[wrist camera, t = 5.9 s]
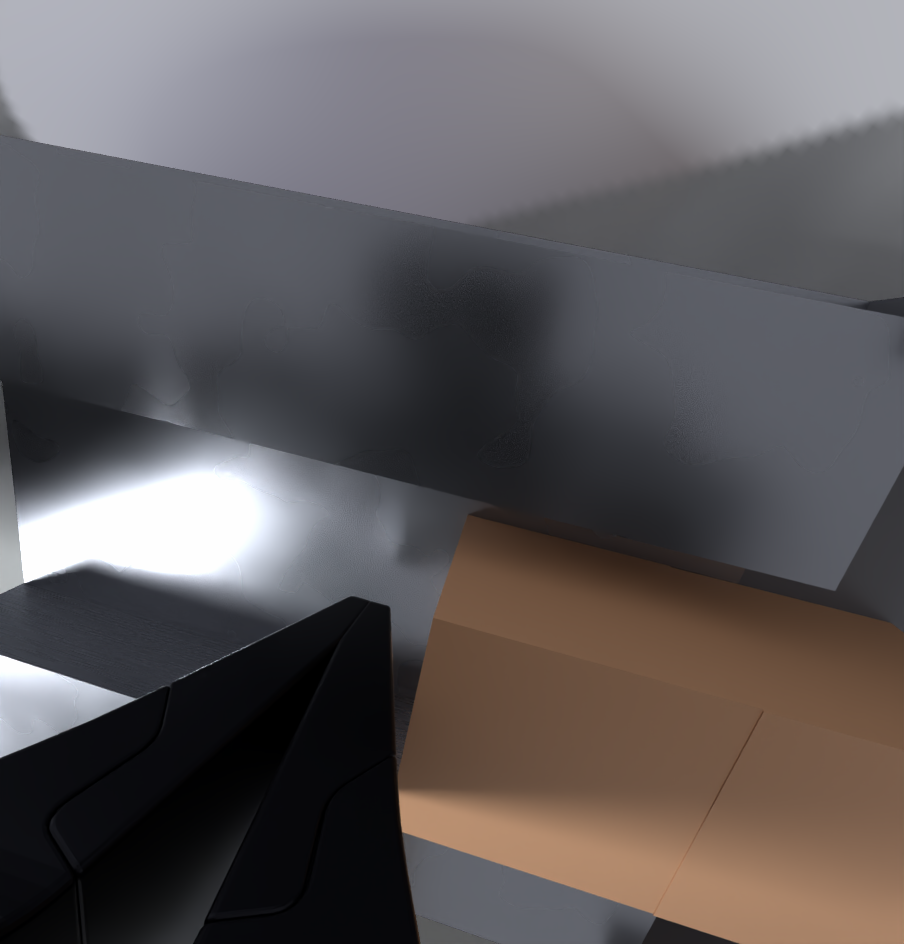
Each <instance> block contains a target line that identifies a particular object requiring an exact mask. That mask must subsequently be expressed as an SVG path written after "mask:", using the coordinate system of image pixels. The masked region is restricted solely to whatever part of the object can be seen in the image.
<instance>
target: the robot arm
mask: <svg viewBox="0 0 904 944" xmlns="http://www.w3.org/2000/svg"><path fill="white" fill-rule="evenodd" d="M0 944H420V938H419V932H418V927H417V921H416V915H415V909H414V904H413V898H412V892H411V886H410V881H409V875H408V869H407V862H406V855H405V848H404V841H403V834H402V826H401V817H400V804H399V791H398V774H397V759H396V729H395V704H394V679H393V654H392V628H391V609H390V607H389V606H388V605H384V604H380V603H377V602H373V601H369V600H366V599H362V598H359V597H355V596H349V597H347V598H345V599H343V600H341V601H339V602H337V603H335V604H333V605H330V606H328V607H326V608H324V609H322V610H320V611H318V612H316V613H314V614H312V615H310V616H308V617H306V618H304V619H302V620H300V621H297V622H295V623H293V624H291V625H289V626H287V627H285V628H283V629H281V630H279V631H277V632H275V633H273V634H271V635H269V636H266V637H264V638H262V639H260V640H258V641H256V642H254V643H252V644H250V645H248V646H246V647H244V648H242V649H240V650H238V651H236V652H233V653H231V654H229V655H227V656H225V657H223V658H221V659H219V660H217V661H215V662H213V663H211V664H209V665H207V666H205V667H202V668H200V669H198V670H196V671H194V672H192V673H190V674H188V675H186V676H184V677H182V678H180V679H178V680H176V681H174V682H172V683H171V685H170V687H169V686H168V685H165V686H163V687H161V688H159V689H157V690H155V691H153V692H150V693H148V694H146V695H144V696H142V697H140V698H138V699H136V700H134V701H132V702H129V703H127V704H125V705H123V706H121V707H119V708H116V709H114V710H112V711H110V712H108V713H106V714H103V715H101V716H99V717H97V718H95V719H92V720H90V721H88V722H85V723H83V724H81V725H78V726H76V727H73V728H71V729H69V730H66V731H64V732H62V733H59V734H57V735H54V736H52V737H50V738H47V739H45V740H43V741H40V742H38V743H35V744H33V745H30V746H28V747H25V748H23V749H21V750H18V751H16V752H13V753H11V754H8V755H6V756H3V757H1V758H0Z"/></svg>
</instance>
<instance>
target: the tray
mask: <svg viewBox="0 0 904 944" xmlns="http://www.w3.org/2000/svg"><path fill="white" fill-rule="evenodd" d="M866 310H869V311H874V312H879V313H884V314H890V315H895V316H900V317H904V297H903V298H895V299H887V300H879V301H871V302H870V303H869V305H868V307H867V309H866ZM738 584H739V585H743V586H747V587H751V588H755V589H759V590H763V591H767V592H771V593H775V594H779V595H783V596H787V597H791V598H795V599H799V600H802V601H806V602H810V603H814V604H818V605H822V606H826V607H830V608H834V609H838V610H842V611H846V612H850V613H854V614H858V615H862V616H865V617H869V618H873V619H877V620H881V621H885V622H889V623H892V624H893V625H894V626H896V627H897V628H898V629H899V630H901V631H902V632H903V633H904V466H903V468H902V470H901V472H900V473H899V475H898V477H897V479H896V481H895V483H894V484H893V486H892V488H891V490H890V492H889V494H888V495H887V497H886V499H885V501H884V503H883V505H882V506H881V508H880V510H879V512H878V514H877V515H876V517H875V519H874V521H873V523H872V525H871V526H870V528H869V530H868V532H867V534H866V536H865V537H864V539H863V541H862V543H861V545H860V546H859V548H858V550H857V552H856V554H855V556H854V557H853V559H852V561H851V563H850V565H849V567H848V568H847V570H846V572H845V574H844V576H843V577H842V579H841V581H840V583H839V585H838V587H837V588H836V590H835V591H833V590H829V589H825V588H821V587H817V586H813V585H809V584H805V583H801V582H797V581H793V580H789V579H785V578H781V577H778V576H774V575H770V574H766V573H762V572H758V571H754V570H750V569H746V568H745V570H744V573H743V575H742V577H741V579H740V581H739V583H738ZM642 944H739V943H736V942H733V941H730V940H727V939H724V938H721V937H718V936H714V935H711V934H708V933H705V932H702V931H699V930H696V929H693V928H690V927H687V926H684V925H681V924H678V923H675V922H671V921H668V920H665V919H662V918H659V917H656V919H655V920H654V922H653V924H652V926H651V928H650V929H649V931H648V933H647V935H646V937H645V939H644V940H643V942H642Z"/></svg>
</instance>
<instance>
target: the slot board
mask: <svg viewBox="0 0 904 944" xmlns="http://www.w3.org/2000/svg"><path fill="white" fill-rule="evenodd" d="M869 303H870V301H864V300H859V299H854V298H849V297H843V296H838V295H833V294H828V293H823V292H817V291H812V290H807V289H802V288H796V287H791V286H786V285H781V284H775V283H770V282H765V281H760V280H755V279H749V278H744V277H739V276H734V275H728V274H723V273H718V272H713V271H707V270H702V269H697V268H692V267H687V266H681V265H676V264H671V263H666V262H660V261H655V260H650V259H645V258H640V257H634V256H629V255H624V254H619V253H613V252H608V251H603V250H598V249H592V248H587V247H582V246H577V245H572V244H566V243H561V242H556V241H551V240H545V239H540V238H535V237H530V236H524V235H519V234H514V233H509V232H504V231H498V230H493V229H488V228H483V227H477V226H472V225H467V224H462V223H457V222H451V221H446V220H441V219H436V218H430V217H425V216H420V215H414V214H409V213H404V212H399V211H394V210H389V209H383V208H378V207H373V206H367V205H362V204H357V203H352V202H347V201H341V200H336V199H331V198H325V197H321V196H315V195H310V194H305V193H300V192H294V191H289V190H284V189H279V188H274V187H268V186H263V185H257V184H253V183H247V182H242V181H237V180H232V179H226V178H220V177H216V176H211V175H205V174H200V173H195V172H189V171H185V170H179V169H174V168H169V167H164V166H158V165H153V164H148V163H143V162H137V161H132V160H127V159H122V158H117V157H111V156H106V155H101V154H96V153H91V152H85V151H80V150H74V149H70V148H64V147H59V146H53V145H49V144H43V143H38V142H33V141H28V140H23V139H17V138H12V137H7V136H2V135H0V380H2V385H3V394H4V403H5V412H6V421H7V430H8V439H9V448H10V457H11V466H12V475H13V483H14V492H15V501H16V510H17V519H18V528H19V537H20V546H21V555H22V564H23V573H24V582H25V583H23V584H21V585H19V586H17V587H15V588H13V589H11V590H8V591H6V592H4V593H2V594H0V758H1V757H3V756H6V755H8V754H11V753H13V752H16V751H18V750H21V749H23V748H25V747H28V746H30V745H33V744H35V743H38V742H40V741H43V740H45V739H47V738H50V737H52V736H54V735H57V734H59V733H62V732H64V731H66V730H69V729H71V728H73V727H76V726H78V725H81V724H83V723H85V722H88V721H90V720H92V719H95V718H97V717H99V716H101V715H103V714H106V713H108V712H110V711H112V710H114V709H116V708H119V707H121V706H123V705H125V704H127V703H129V702H132V701H134V700H136V699H138V698H140V697H142V696H144V695H146V694H148V693H150V692H153V691H155V690H157V689H159V688H161V687H163V686H165V685H168V686H169V687H170V685H171V683H172V682H174V681H176V680H178V679H180V678H182V677H184V676H186V675H188V674H190V673H192V672H194V671H196V670H198V669H200V668H202V667H205V666H207V665H209V664H211V663H213V662H215V661H217V660H219V659H221V658H223V657H225V656H227V655H229V654H231V653H233V652H236V651H238V650H240V649H242V648H244V647H246V646H248V645H250V644H252V643H254V642H256V641H258V640H260V639H262V638H264V637H266V636H269V635H271V634H273V633H275V632H277V631H279V630H281V629H283V628H285V627H287V626H289V625H291V624H293V623H295V622H297V621H300V620H302V619H304V618H306V617H308V616H310V615H312V614H314V613H316V612H318V611H320V610H322V609H324V608H326V607H328V606H330V605H333V604H335V603H337V602H339V601H341V600H343V599H345V598H347V597H349V596H355V597H359V598H362V599H366V600H369V601H373V602H377V603H380V604H384V605H388V606H389V607H390V609H391V628H392V654H393V679H394V704H395V729H396V759H397V774H398V771H399V767H400V763H401V758H402V754H403V749H404V745H405V740H406V736H407V731H408V727H409V723H410V718H411V714H412V709H413V705H414V700H415V696H416V691H417V687H418V683H419V678H420V674H421V669H422V665H423V660H424V656H425V651H426V647H427V642H428V638H429V634H430V629H431V625H432V620H433V616H434V613H435V610H436V607H437V605H438V602H439V599H440V596H441V593H442V590H443V587H444V584H445V581H446V578H447V575H448V572H449V569H450V566H451V563H452V560H453V557H454V554H455V551H456V548H457V545H458V542H459V539H460V536H461V533H462V530H463V527H464V524H465V521H466V518H467V515H471V516H475V517H479V518H483V519H487V520H491V521H495V522H499V523H503V524H507V525H511V526H514V527H518V528H522V529H526V530H530V531H534V532H538V533H542V534H546V535H550V536H554V537H558V538H562V539H566V540H570V541H574V542H578V543H581V544H585V545H589V546H593V547H597V548H601V549H605V550H609V551H613V552H617V553H621V554H625V555H629V556H633V557H637V558H641V559H645V560H648V561H652V562H656V563H660V564H664V565H668V566H670V567H672V568H676V569H680V570H684V571H688V572H692V573H696V574H700V575H704V576H708V577H712V578H715V579H719V580H723V581H727V582H731V583H735V584H738V583H739V581H740V579H741V577H742V575H743V573H744V570H745V568H746V569H750V570H754V571H758V572H762V573H766V574H770V575H774V576H778V577H781V578H785V579H789V580H793V581H797V582H801V583H805V584H809V585H813V586H817V587H821V588H825V589H829V590H833V591H835V590H836V588H837V587H838V585H839V583H840V581H841V579H842V577H843V576H844V574H845V572H846V570H847V568H848V567H849V565H850V563H851V561H852V559H853V557H854V556H855V554H856V552H857V550H858V548H859V546H860V545H861V543H862V541H863V539H864V537H865V536H866V534H867V532H868V530H869V528H870V526H871V525H872V523H873V521H874V519H875V517H876V515H877V514H878V512H879V510H880V508H881V506H882V505H883V503H884V501H885V499H886V497H887V495H888V494H889V492H890V490H891V488H892V486H893V484H894V483H895V481H896V479H897V477H898V475H899V473H900V472H901V470H902V468H903V466H904V317H900V316H895V315H890V314H884V313H879V312H874V311H869V310H866V309H867V307H868V305H869ZM402 834H403V841H404V848H405V855H406V862H407V869H408V875H409V881H410V886H411V892H412V898H413V904H414V909H415V914H416V915H419V916H422V917H424V918H427V919H430V920H433V921H436V922H439V923H442V924H444V925H447V926H450V927H453V928H456V929H459V930H462V931H464V932H467V933H470V934H473V935H476V936H479V937H482V938H484V939H487V940H490V941H493V942H496V943H499V944H642V942H643V940H644V939H645V937H646V935H647V933H648V931H649V929H650V928H651V926H652V924H653V922H654V920H655V919H656V916H653V914H652V913H649V912H646V911H643V910H640V909H637V908H634V907H631V906H628V905H624V904H621V903H618V902H615V901H612V900H609V899H606V898H603V897H600V896H597V895H594V894H591V893H588V892H585V891H582V890H578V889H575V888H572V887H569V886H566V885H563V884H560V883H557V882H554V881H551V880H548V879H545V878H542V877H539V876H536V875H532V874H529V873H526V872H523V871H520V870H517V869H514V868H511V867H508V866H505V865H502V864H499V863H496V862H493V861H490V860H486V859H483V858H480V857H477V856H474V855H471V854H468V853H465V852H462V851H459V850H456V849H453V848H450V847H447V846H444V845H440V844H437V843H434V842H431V841H428V840H425V839H422V838H419V837H416V836H413V835H410V834H407V833H404V832H402Z"/></svg>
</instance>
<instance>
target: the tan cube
mask: <svg viewBox="0 0 904 944" xmlns="http://www.w3.org/2000/svg"><path fill="white" fill-rule="evenodd" d="M671 568H672V567H671ZM672 570H673V571H674V573H675V574H676V576H677V577H678V579H679V581H680V582H681V584H682V585H683V587H684V588H685V590H686V591H687V593H688V594H689V596H690V597H691V599H692V600H693V602H694V603H695V605H696V607H697V608H698V610H699V611H700V613H701V614H702V616H703V617H704V619H705V620H706V622H707V623H708V625H709V626H710V628H711V630H712V631H713V633H714V634H715V636H716V637H717V639H718V640H719V642H720V643H721V645H722V646H723V648H724V649H725V651H726V653H727V654H728V656H729V657H730V659H731V660H732V662H733V663H734V665H735V666H736V668H737V669H738V671H739V672H740V674H741V675H742V677H743V679H744V680H745V682H746V683H747V685H748V686H749V688H750V689H751V691H752V692H753V694H754V695H755V697H756V698H757V700H758V702H759V703H760V705H761V706H762V708H763V709H764V710H763V712H762V714H761V716H760V717H759V719H758V721H757V723H756V725H755V727H754V728H753V730H752V732H751V734H750V736H749V738H748V740H747V741H746V743H745V745H744V747H743V749H742V751H741V753H740V754H739V756H738V758H737V760H736V762H735V764H734V765H733V767H732V769H731V771H730V773H729V775H728V777H727V778H726V780H725V782H724V784H723V786H722V788H721V790H720V791H719V793H718V795H717V797H716V799H715V801H714V802H713V804H712V806H711V808H710V810H709V812H708V814H707V815H706V817H705V819H704V821H703V823H702V825H701V826H700V828H699V830H698V832H697V834H696V836H695V838H694V839H693V841H692V843H691V845H690V847H689V849H688V851H687V852H686V854H685V856H684V858H683V860H682V862H681V863H680V865H679V867H678V869H677V871H676V873H675V875H674V876H673V878H672V880H671V882H670V884H669V886H668V888H667V889H666V891H665V893H664V895H663V897H662V899H661V900H660V902H659V904H658V906H657V908H656V910H655V912H654V913H653V916H656V917H659V918H662V919H665V920H668V921H671V922H675V923H678V924H681V925H684V926H687V927H690V928H693V929H696V930H699V931H702V932H705V933H708V934H711V935H714V936H718V937H721V938H724V939H727V940H730V941H733V942H736V943H739V944H904V633H903V632H902V631H901V630H899V629H898V628H897V627H896V626H894V625H893V624H892V623H889V622H885V621H881V620H877V619H873V618H869V617H865V616H862V615H858V614H854V613H850V612H846V611H842V610H838V609H834V608H830V607H826V606H822V605H818V604H814V603H810V602H806V601H802V600H799V599H795V598H791V597H787V596H783V595H779V594H775V593H771V592H767V591H763V590H759V589H755V588H751V587H747V586H743V585H739V584H735V583H731V582H727V581H723V580H719V579H715V578H712V577H708V576H704V575H700V574H696V573H692V572H688V571H684V570H680V569H676V568H672Z"/></svg>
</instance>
